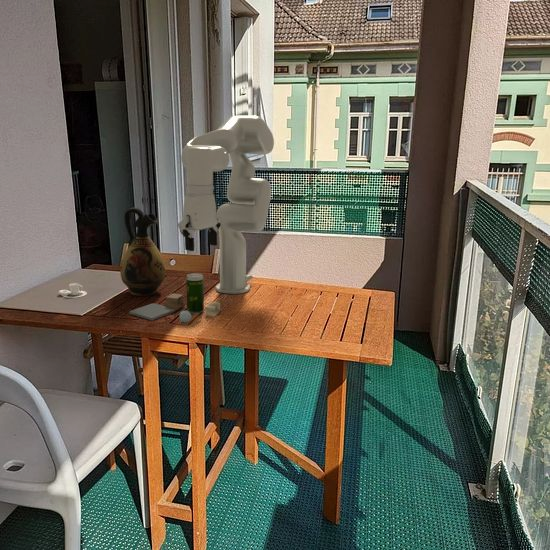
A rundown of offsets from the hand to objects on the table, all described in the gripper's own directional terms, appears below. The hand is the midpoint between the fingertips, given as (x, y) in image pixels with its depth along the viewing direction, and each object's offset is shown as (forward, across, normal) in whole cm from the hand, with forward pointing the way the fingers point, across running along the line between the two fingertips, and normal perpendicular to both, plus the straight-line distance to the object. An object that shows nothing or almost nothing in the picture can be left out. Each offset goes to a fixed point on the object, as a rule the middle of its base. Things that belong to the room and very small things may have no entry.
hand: (201, 247), depth 148 cm
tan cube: (+22, +1, -12) cm, 25 cm away
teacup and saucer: (+22, +13, -51) cm, 58 cm away
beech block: (+22, -3, +1) cm, 22 cm away
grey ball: (+20, +8, 0) cm, 21 cm away
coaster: (+22, +9, -14) cm, 27 cm away
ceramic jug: (+22, -3, -33) cm, 40 cm away
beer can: (+22, -1, -4) cm, 22 cm away
